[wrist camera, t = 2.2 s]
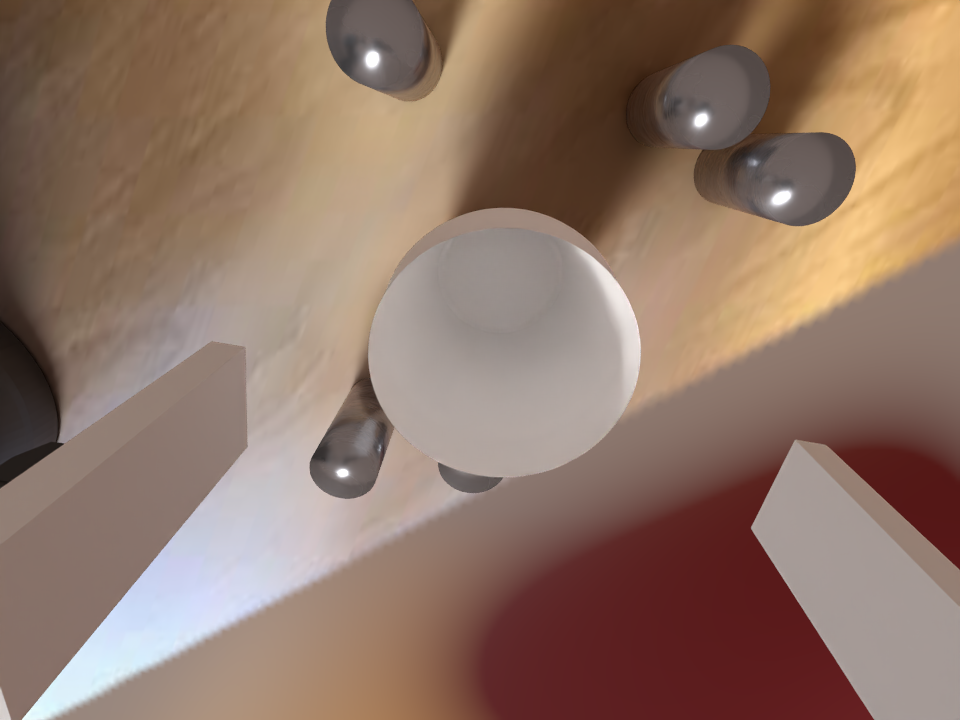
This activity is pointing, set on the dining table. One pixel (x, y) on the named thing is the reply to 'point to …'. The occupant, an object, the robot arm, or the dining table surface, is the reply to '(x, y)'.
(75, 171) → the dining table surface
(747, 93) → the posts
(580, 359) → the cup
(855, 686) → the robot arm
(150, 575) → the dining table surface
